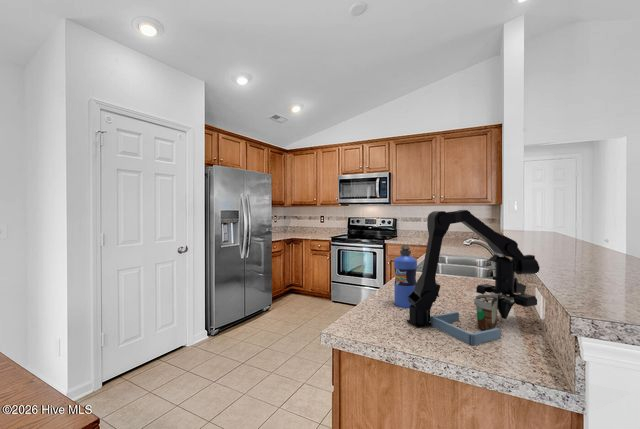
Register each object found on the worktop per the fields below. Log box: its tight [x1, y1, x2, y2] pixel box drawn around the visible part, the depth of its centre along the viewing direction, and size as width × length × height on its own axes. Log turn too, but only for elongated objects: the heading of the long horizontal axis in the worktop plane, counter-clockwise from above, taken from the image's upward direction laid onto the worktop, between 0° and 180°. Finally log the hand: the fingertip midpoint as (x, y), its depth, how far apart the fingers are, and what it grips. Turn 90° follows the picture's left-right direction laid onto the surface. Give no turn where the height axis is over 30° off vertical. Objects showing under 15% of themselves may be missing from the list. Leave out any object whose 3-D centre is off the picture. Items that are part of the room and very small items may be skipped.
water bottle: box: [393, 244, 418, 309], centre depth 125 cm, size 9×9×25 cm
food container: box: [473, 294, 498, 331], centre depth 101 cm, size 12×6×10 cm, turn 141°
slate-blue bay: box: [430, 311, 502, 347], centre depth 97 cm, size 12×17×3 cm
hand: (504, 318), depth 105 cm, fingers closed
